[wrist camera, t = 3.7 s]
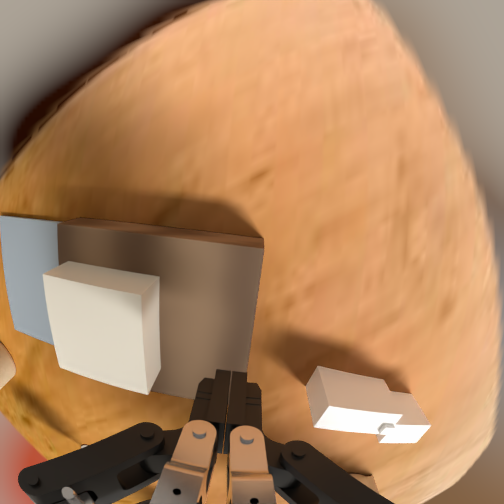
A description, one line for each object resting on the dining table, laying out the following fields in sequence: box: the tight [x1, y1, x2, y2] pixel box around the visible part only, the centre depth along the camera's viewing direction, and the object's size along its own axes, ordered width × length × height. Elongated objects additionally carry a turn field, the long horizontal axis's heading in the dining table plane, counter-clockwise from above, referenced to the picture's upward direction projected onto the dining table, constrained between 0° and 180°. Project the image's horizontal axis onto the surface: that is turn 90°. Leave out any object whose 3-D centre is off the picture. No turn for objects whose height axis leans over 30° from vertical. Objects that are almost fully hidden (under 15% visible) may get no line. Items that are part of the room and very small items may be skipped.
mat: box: [0, 215, 61, 345], centre depth 20 cm, size 10×12×1 cm
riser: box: [57, 217, 264, 405], centre depth 19 cm, size 14×12×3 cm
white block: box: [43, 261, 161, 395], centre depth 16 cm, size 7×7×3 cm
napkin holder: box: [306, 366, 431, 443], centre depth 20 cm, size 15×11×6 cm
